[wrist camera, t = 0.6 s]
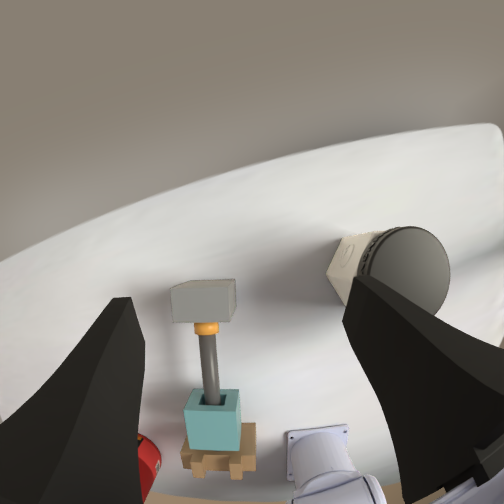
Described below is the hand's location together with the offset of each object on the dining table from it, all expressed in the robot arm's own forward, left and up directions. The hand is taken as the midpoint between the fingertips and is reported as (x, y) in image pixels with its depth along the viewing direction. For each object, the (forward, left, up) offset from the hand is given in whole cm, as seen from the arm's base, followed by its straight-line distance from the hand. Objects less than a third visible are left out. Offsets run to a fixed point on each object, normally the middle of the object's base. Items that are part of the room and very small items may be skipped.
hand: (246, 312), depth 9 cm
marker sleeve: (-15, +5, -20) cm, 26 cm away
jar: (-1, -12, -23) cm, 27 cm away
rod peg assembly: (-12, +5, -23) cm, 26 cm away
